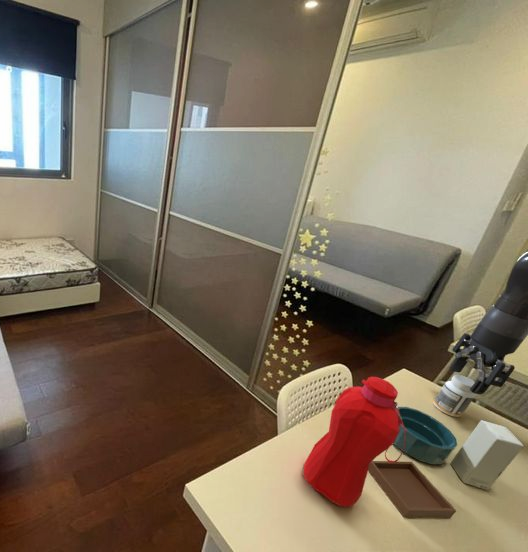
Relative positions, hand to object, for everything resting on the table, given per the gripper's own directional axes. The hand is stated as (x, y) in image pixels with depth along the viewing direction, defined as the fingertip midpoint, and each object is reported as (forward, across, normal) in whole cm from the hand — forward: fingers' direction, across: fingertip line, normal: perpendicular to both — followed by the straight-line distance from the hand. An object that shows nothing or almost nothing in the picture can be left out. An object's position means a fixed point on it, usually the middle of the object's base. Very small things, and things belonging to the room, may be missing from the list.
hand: (464, 381), depth 82 cm
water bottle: (+10, -36, +36) cm, 52 cm away
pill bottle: (+10, 0, 0) cm, 10 cm away
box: (+10, -22, +7) cm, 25 cm away
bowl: (+10, -17, +15) cm, 25 cm away
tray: (+10, -32, +22) cm, 40 cm away
